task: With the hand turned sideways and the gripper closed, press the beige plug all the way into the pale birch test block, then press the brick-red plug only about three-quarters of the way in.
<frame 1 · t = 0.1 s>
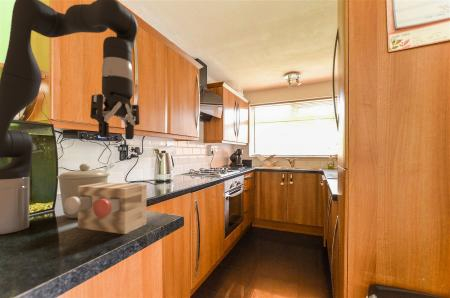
hand: (117, 138, 58), 29 cm above the counter, tool pointing down, fingers open, 8 cm apart
beige plug: (83, 202, 70), point 9 cm above the counter, slide at 0.0 cm
red plug: (111, 205, 67), point 9 cm above the counter, slide at 0.0 cm
canister: (84, 215, 88), on the counter
test block: (112, 225, 74), on the counter
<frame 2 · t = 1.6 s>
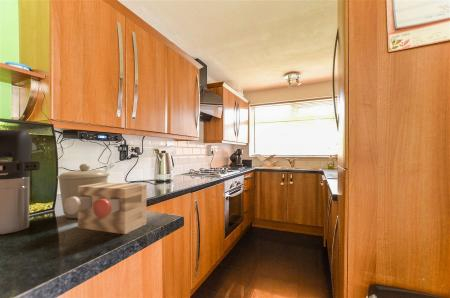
hand: (27, 165, 56), 22 cm above the counter, tool horizontal, fingers open, 7 cm apart
nothing on the counter moved.
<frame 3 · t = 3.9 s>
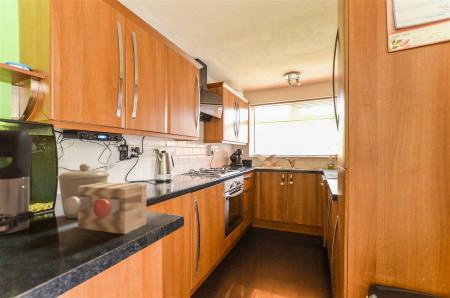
hand: (32, 214, 57), 9 cm above the counter, tool horizontal, fingers closed
nothing on the counter moved.
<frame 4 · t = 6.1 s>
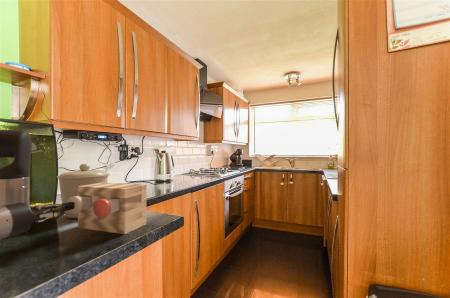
hand: (72, 205, 67), 9 cm above the counter, tool horizontal, fingers closed
beige plug: (85, 202, 71), point 9 cm above the counter, slide at 0.9 cm, touching gripper
everything else where it was.
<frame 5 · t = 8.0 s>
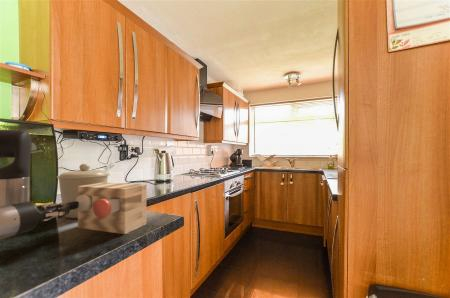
hand: (76, 204, 68), 9 cm above the counter, tool horizontal, fingers closed
beige plug: (92, 200, 74), point 9 cm above the counter, slide at 3.6 cm
everything else where it was.
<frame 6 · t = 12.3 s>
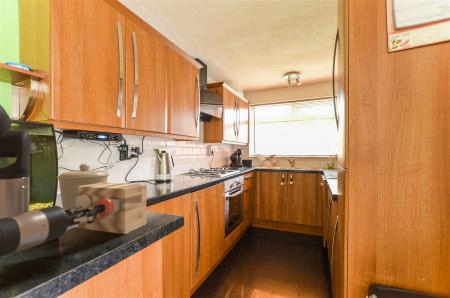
hand: (102, 207, 64), 9 cm above the counter, tool horizontal, fingers closed
red plug: (114, 204, 68), point 9 cm above the counter, slide at 1.0 cm, touching gripper
everything else where it was.
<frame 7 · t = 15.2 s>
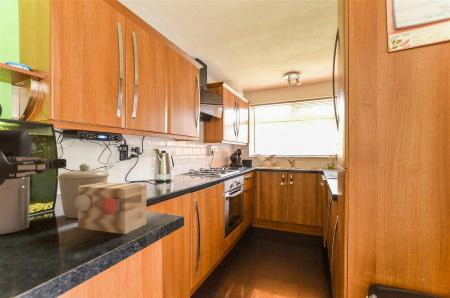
hand: (64, 163, 53), 23 cm above the counter, tool horizontal, fingers closed
red plug: (118, 203, 69), point 9 cm above the counter, slide at 2.5 cm
everything else where it was.
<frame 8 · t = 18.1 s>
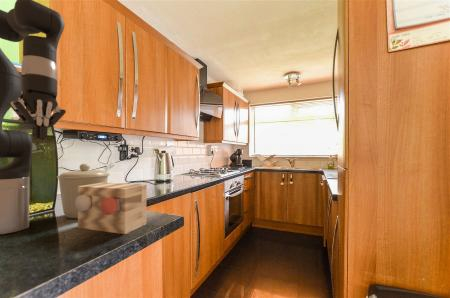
hand: (39, 139, 59), 29 cm above the counter, tool pointing down, fingers closed
nothing on the counter moved.
at the end: beige plug slide at 3.6 cm; red plug slide at 2.5 cm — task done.
